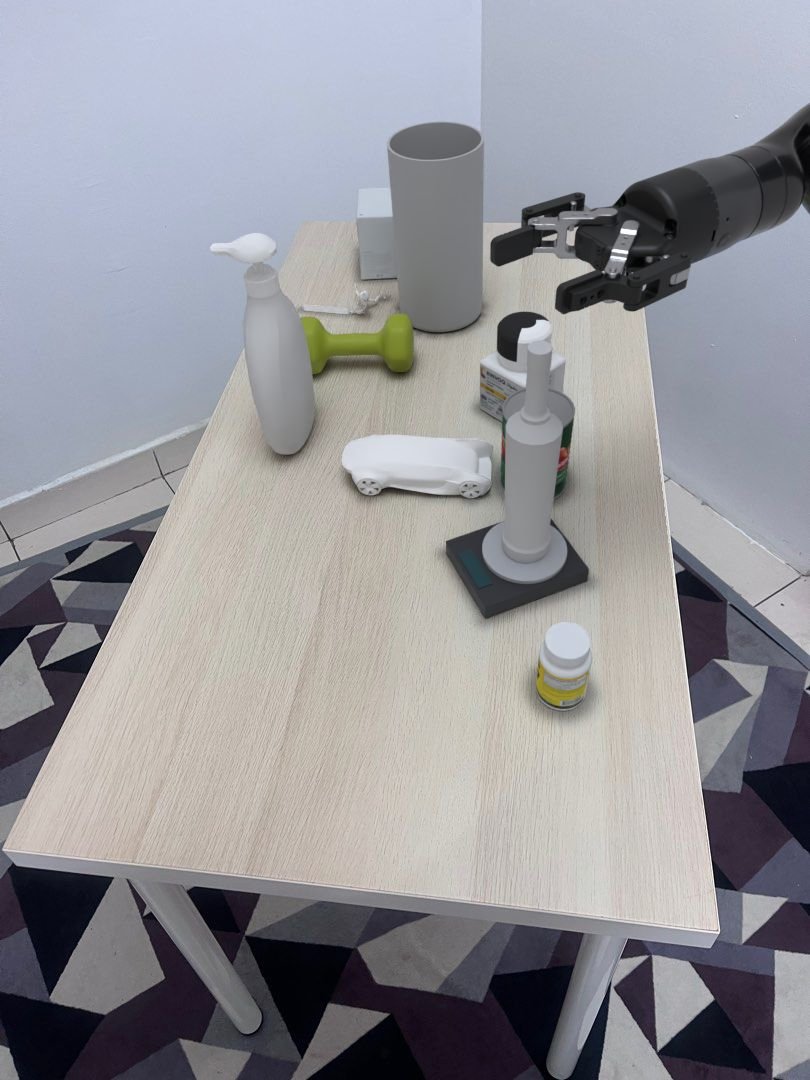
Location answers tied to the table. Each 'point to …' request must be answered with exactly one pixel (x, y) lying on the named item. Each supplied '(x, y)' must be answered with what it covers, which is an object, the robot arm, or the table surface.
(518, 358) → the container
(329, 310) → the action figure
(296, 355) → the soap bottle
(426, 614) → the table surface
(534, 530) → the bottle
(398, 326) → the dumbbell
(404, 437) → the toy car
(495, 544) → the scale
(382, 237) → the cosmetics box
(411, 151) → the cylinder vase
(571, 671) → the supplement bottle
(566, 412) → the canned tomato
